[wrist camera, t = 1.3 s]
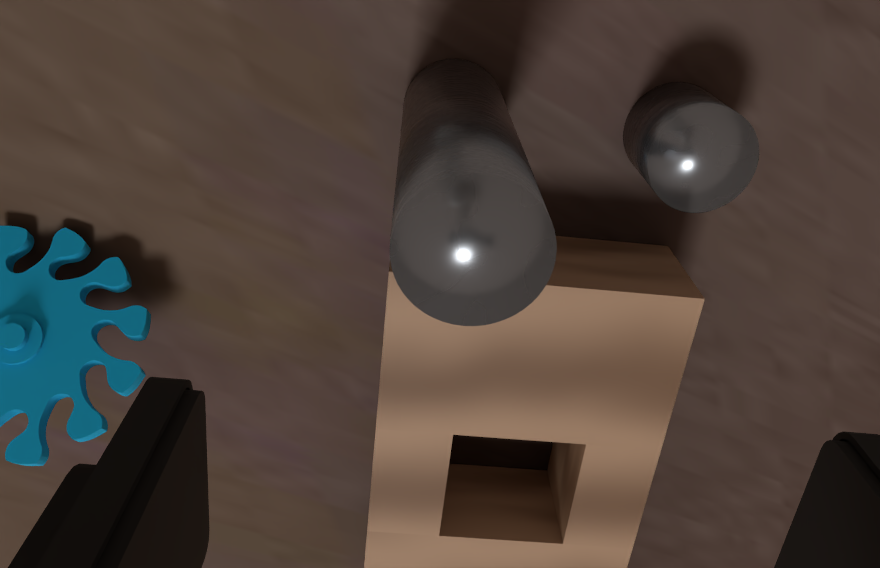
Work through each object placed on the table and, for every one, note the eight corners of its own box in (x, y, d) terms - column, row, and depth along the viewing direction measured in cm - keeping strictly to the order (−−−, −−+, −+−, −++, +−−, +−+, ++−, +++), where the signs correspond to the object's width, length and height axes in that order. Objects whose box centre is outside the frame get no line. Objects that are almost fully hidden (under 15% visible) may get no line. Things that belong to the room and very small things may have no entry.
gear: (186, 265, 32) (73, 503, 29) (206, 306, 38) (114, 510, 34) (-71, 175, 32) (-216, 405, 28) (-13, 230, 37) (-128, 428, 34)
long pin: (408, 53, 30) (396, 165, 18) (509, 64, 30) (570, 182, 18) (399, 153, 32) (383, 319, 19) (495, 162, 32) (542, 332, 20)
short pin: (634, 77, 31) (662, 100, 27) (732, 87, 31) (773, 112, 27) (614, 173, 32) (637, 207, 29) (706, 182, 33) (741, 217, 29)
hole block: (393, 221, 33) (388, 271, 29) (667, 246, 34) (704, 299, 29) (365, 563, 42) (357, 642, 38) (582, 576, 43) (601, 656, 38)
